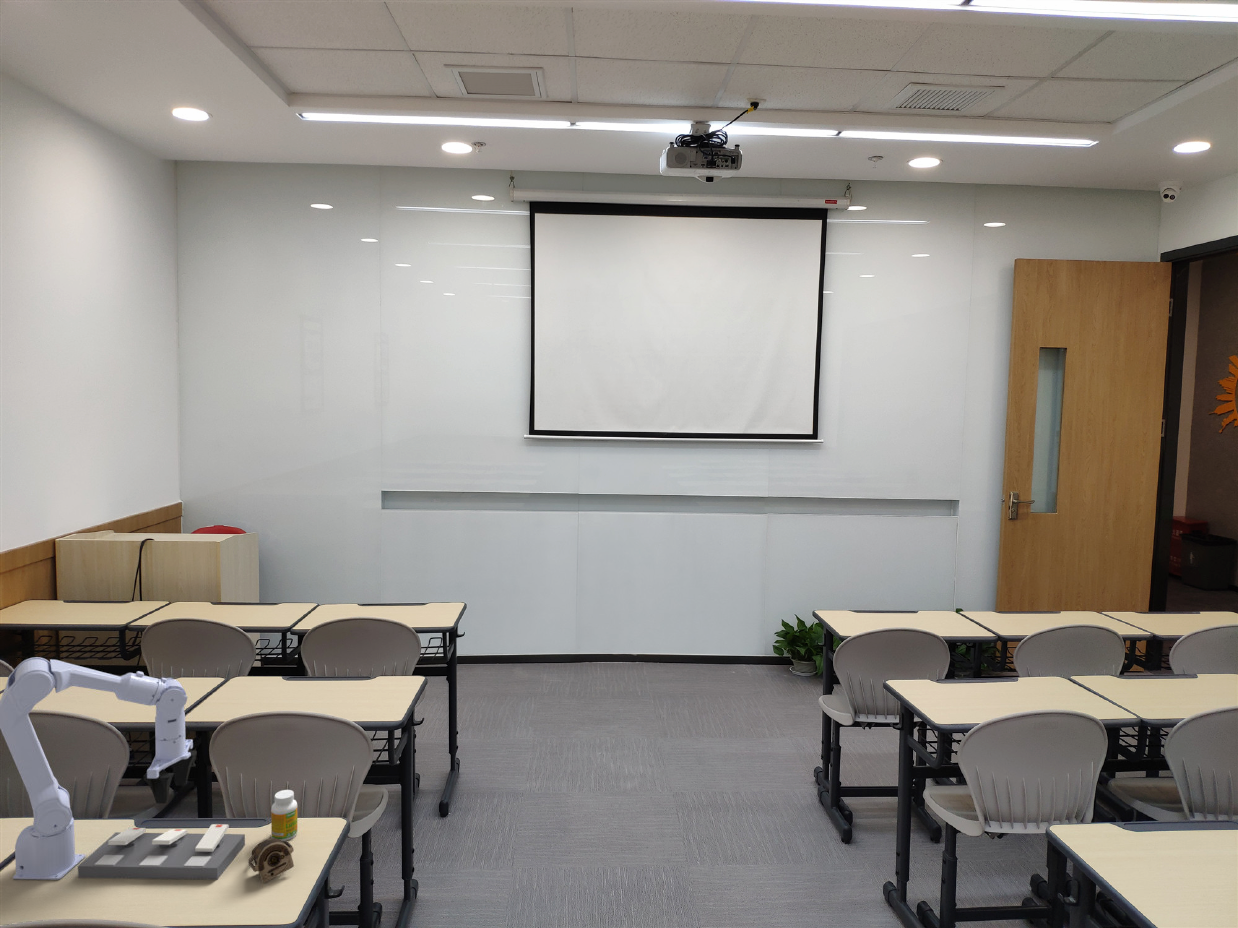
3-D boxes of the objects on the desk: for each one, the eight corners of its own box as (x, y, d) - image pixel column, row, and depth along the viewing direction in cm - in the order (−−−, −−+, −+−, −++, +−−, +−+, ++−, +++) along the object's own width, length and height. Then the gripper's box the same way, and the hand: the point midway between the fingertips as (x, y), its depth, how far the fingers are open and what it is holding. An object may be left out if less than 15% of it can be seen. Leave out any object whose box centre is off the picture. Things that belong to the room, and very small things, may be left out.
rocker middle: (151, 846, 158) (152, 839, 158) (170, 834, 165) (170, 828, 165) (169, 846, 158) (169, 839, 158) (186, 835, 165) (187, 829, 165)
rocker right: (195, 852, 159) (195, 847, 158) (212, 828, 165) (211, 823, 165) (213, 852, 159) (212, 847, 158) (229, 828, 165) (228, 824, 165)
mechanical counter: (234, 864, 151) (286, 847, 153) (246, 824, 163) (294, 809, 165) (243, 894, 153) (295, 877, 155) (255, 852, 165) (302, 836, 167)
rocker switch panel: (78, 877, 154) (77, 863, 153) (115, 843, 165) (115, 829, 165) (217, 879, 154) (217, 864, 154) (244, 844, 166) (244, 831, 166)
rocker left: (108, 846, 158) (108, 840, 158) (128, 833, 165) (129, 827, 165) (125, 846, 158) (126, 840, 158) (145, 833, 165) (145, 827, 165)
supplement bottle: (287, 843, 167) (287, 801, 166) (266, 840, 168) (265, 798, 168) (302, 830, 173) (302, 789, 172) (281, 826, 174) (281, 786, 173)
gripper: (170, 750, 161) (171, 811, 162) (205, 721, 175) (206, 777, 176) (136, 749, 161) (138, 810, 162) (174, 720, 175) (175, 776, 176)
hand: (171, 793), depth 169 cm, fingers open, 7 cm apart
